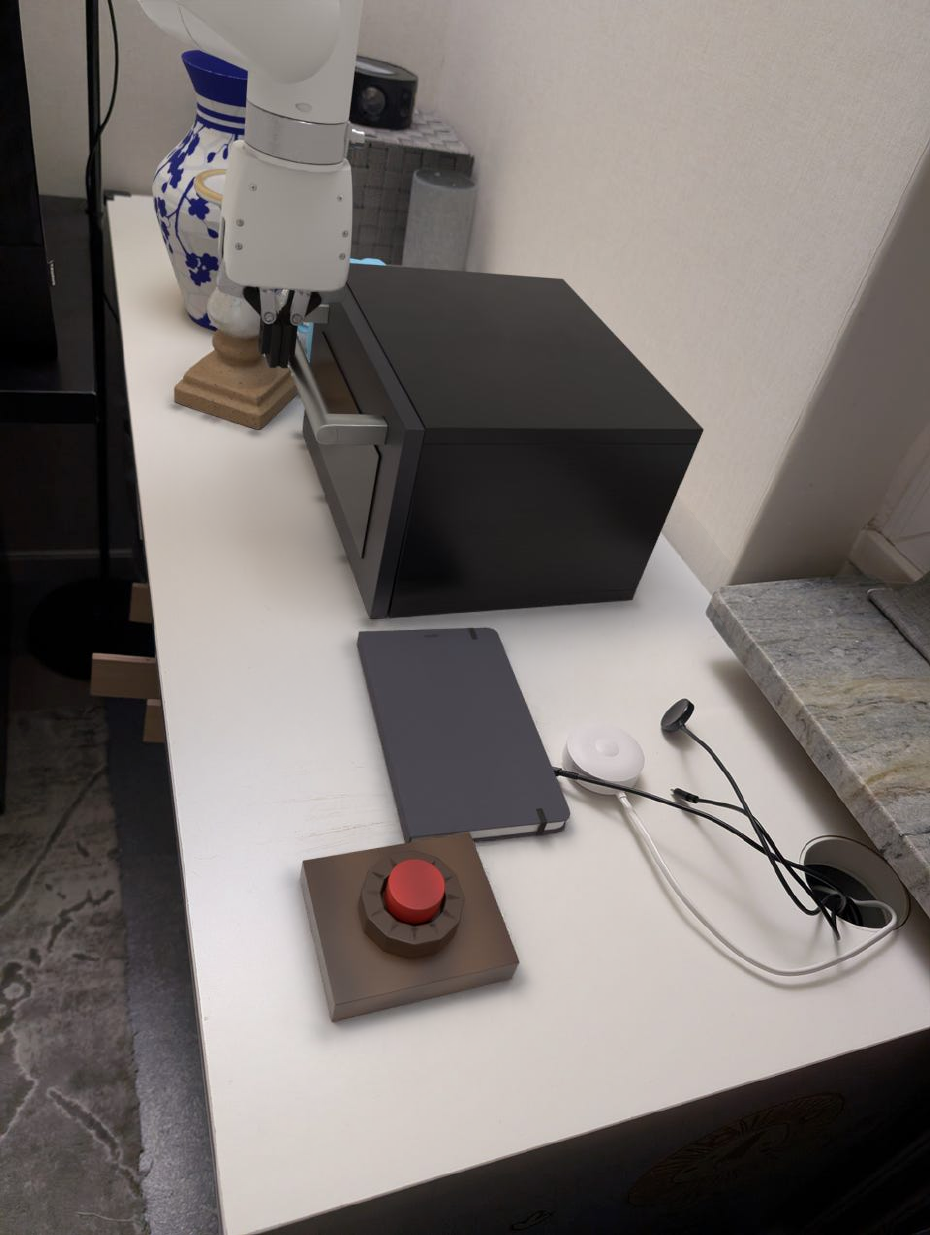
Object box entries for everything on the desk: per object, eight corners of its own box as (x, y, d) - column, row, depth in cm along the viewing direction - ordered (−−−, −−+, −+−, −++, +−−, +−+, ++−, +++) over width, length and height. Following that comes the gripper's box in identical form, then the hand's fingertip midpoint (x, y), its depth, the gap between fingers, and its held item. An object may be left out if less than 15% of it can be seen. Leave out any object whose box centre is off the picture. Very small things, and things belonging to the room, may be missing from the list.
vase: (176, 350, 112) (172, 80, 92) (140, 285, 123) (130, 33, 104) (320, 345, 121) (344, 97, 101) (274, 285, 132) (288, 52, 113)
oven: (389, 618, 82) (425, 427, 69) (317, 433, 104) (335, 261, 91) (632, 600, 92) (704, 429, 79) (520, 434, 113) (563, 278, 100)
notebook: (356, 643, 79) (406, 849, 64) (358, 630, 78) (410, 837, 63) (491, 638, 83) (568, 831, 68) (495, 626, 82) (574, 819, 67)
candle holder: (217, 365, 111) (221, 159, 96) (299, 392, 110) (317, 188, 95) (171, 401, 103) (168, 182, 87) (260, 430, 102) (272, 214, 86)
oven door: (305, 622, 79) (330, 427, 67) (249, 431, 101) (260, 256, 88) (386, 617, 82) (425, 429, 70) (315, 432, 104) (335, 263, 91)
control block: (331, 1021, 54) (338, 990, 52) (299, 878, 61) (304, 844, 58) (512, 978, 58) (527, 947, 56) (464, 849, 65) (475, 816, 63)
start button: (392, 929, 55) (397, 914, 54) (378, 879, 58) (382, 863, 57) (447, 918, 57) (452, 903, 56) (430, 869, 59) (435, 854, 58)
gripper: (376, 135, 73) (347, 347, 85) (187, 106, 67) (182, 337, 79) (403, 164, 68) (367, 385, 80) (200, 135, 62) (193, 378, 74)
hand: (275, 360), depth 79 cm, fingers closed
